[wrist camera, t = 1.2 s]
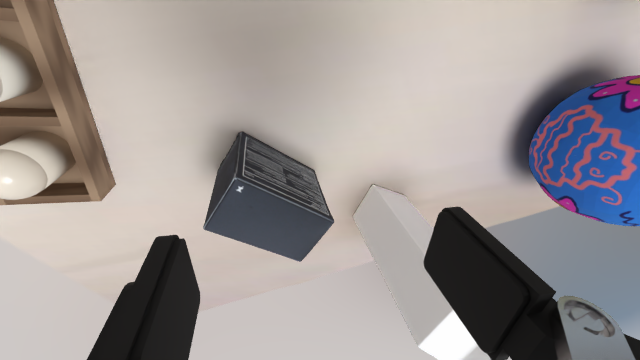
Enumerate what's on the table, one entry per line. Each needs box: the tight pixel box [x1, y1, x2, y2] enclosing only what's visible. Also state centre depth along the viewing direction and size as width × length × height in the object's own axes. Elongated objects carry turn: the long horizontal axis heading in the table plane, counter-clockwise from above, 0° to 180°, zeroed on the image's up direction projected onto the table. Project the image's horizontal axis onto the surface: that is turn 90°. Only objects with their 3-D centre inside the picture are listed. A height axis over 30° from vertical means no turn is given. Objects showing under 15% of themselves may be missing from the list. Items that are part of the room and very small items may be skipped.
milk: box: [353, 184, 491, 360], centre depth 30 cm, size 6×6×22 cm
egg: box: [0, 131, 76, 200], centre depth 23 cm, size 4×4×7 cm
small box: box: [203, 132, 334, 262], centre depth 28 cm, size 11×6×10 cm, turn 55°
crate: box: [0, 0, 116, 205], centre depth 21 cm, size 24×9×3 cm, turn 175°
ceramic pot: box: [529, 75, 640, 226], centre depth 33 cm, size 18×18×15 cm
